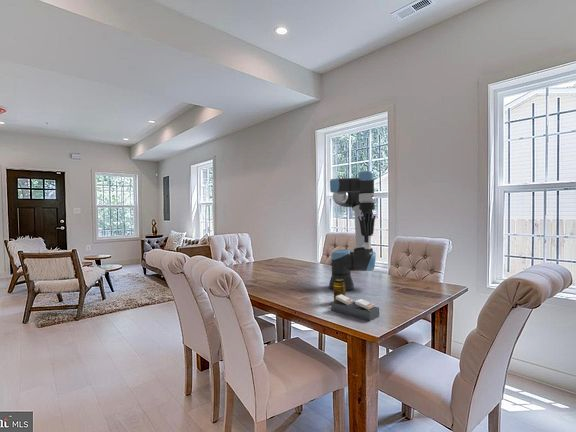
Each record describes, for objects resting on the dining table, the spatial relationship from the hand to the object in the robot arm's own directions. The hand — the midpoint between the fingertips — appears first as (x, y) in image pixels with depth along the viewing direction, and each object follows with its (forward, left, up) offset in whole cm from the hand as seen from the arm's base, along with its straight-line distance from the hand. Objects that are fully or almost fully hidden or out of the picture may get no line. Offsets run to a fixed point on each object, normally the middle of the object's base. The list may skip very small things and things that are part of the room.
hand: (367, 248), depth 154 cm
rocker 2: (+8, -16, -23) cm, 29 cm away
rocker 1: (-4, -16, -23) cm, 28 cm away
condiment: (-13, -6, -29) cm, 32 cm away
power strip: (0, -16, -28) cm, 33 cm away
